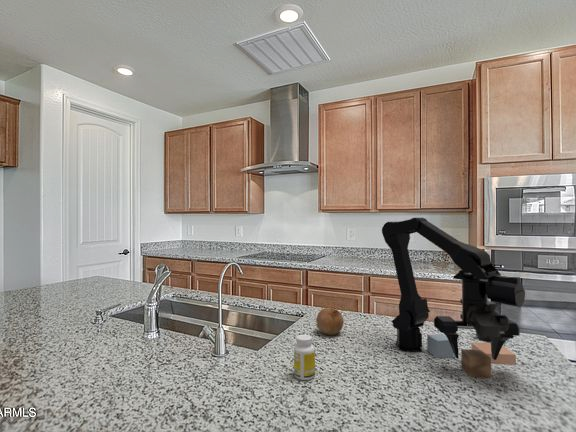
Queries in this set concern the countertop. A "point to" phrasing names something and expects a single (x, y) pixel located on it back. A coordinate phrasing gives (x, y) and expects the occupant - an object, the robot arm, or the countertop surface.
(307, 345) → the supplement bottle
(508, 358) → the base block
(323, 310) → the onion
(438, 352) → the slate-blue cube
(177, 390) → the countertop surface
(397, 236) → the robot arm
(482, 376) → the walnut cube
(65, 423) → the countertop surface
